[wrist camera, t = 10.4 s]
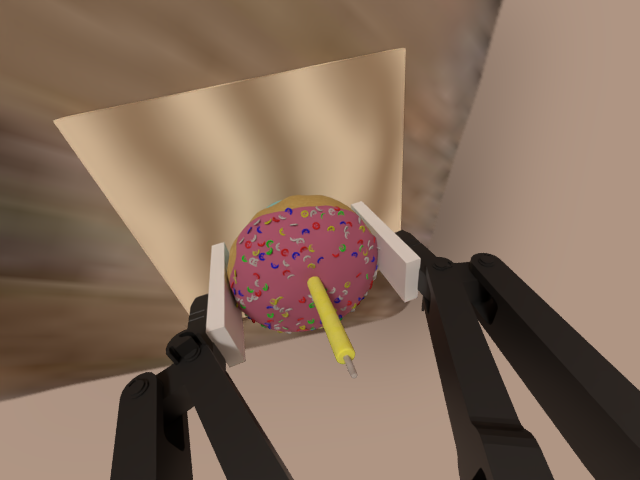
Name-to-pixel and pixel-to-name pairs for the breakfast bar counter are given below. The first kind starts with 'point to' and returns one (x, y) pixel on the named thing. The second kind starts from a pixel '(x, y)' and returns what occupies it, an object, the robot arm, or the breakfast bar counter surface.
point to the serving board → (245, 156)
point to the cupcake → (304, 268)
